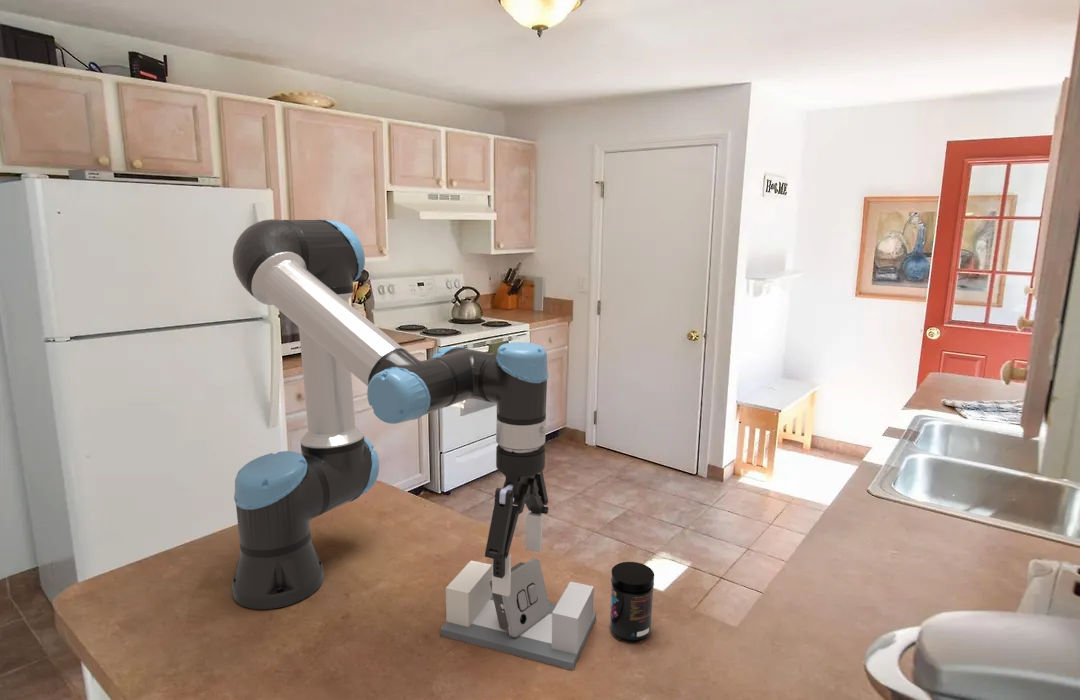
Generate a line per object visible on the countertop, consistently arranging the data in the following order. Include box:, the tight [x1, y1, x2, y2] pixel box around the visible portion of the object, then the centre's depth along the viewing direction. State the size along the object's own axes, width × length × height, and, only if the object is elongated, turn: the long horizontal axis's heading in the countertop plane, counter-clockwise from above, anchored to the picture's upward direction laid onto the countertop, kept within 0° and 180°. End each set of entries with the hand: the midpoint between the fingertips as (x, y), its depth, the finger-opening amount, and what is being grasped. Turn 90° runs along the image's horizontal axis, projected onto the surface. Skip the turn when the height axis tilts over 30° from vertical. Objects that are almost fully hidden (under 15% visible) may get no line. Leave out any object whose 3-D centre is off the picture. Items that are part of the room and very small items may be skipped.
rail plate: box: [440, 559, 597, 671], centre depth 101 cm, size 22×13×7 cm, turn 70°
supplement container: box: [609, 561, 655, 644], centre depth 100 cm, size 7×7×10 cm
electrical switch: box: [490, 557, 550, 637], centre depth 101 cm, size 9×5×9 cm, turn 141°
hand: (518, 570), depth 100 cm, fingers open, 13 cm apart
